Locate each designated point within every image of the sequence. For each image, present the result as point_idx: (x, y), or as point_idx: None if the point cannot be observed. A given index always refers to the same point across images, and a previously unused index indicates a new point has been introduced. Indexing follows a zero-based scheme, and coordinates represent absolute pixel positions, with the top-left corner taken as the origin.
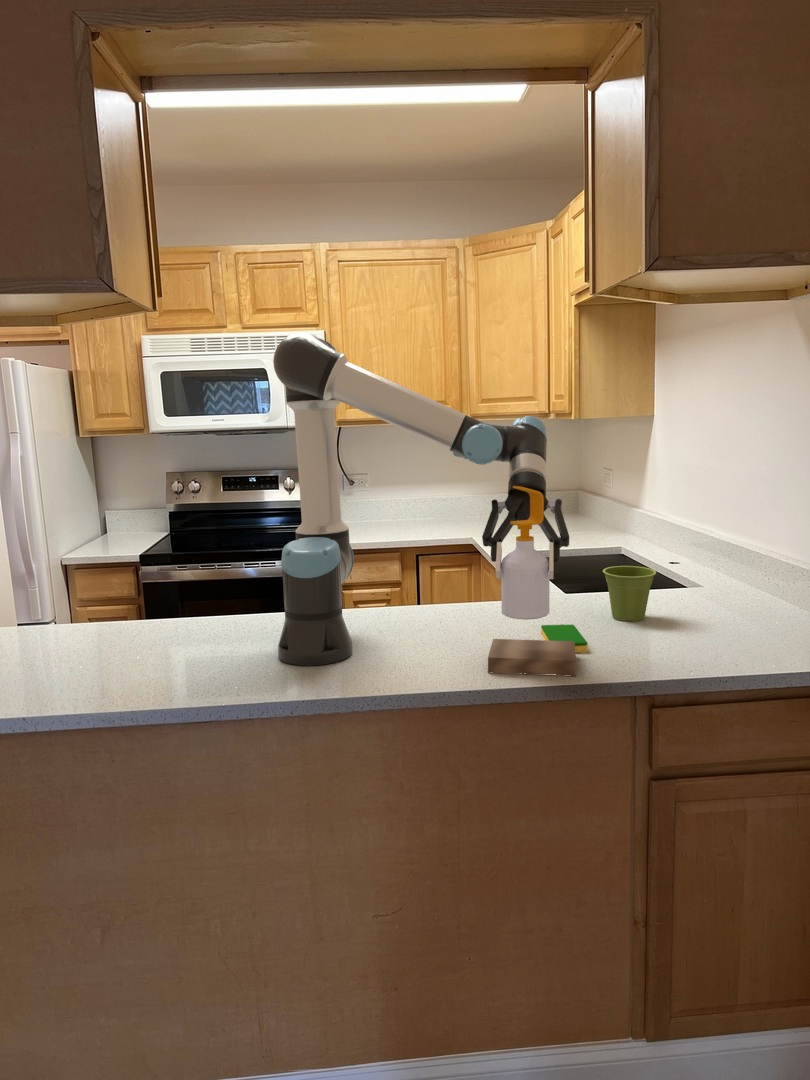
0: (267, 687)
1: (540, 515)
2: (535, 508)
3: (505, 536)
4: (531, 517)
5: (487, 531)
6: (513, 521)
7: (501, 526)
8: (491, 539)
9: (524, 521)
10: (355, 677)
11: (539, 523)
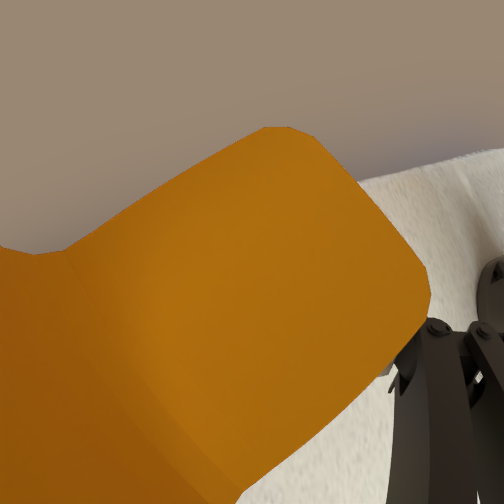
0: (485, 191)
1: (11, 277)
2: (32, 459)
3: (393, 451)
4: (186, 484)
5: (499, 358)
6: (407, 317)
7: (462, 418)
8: (449, 327)
9: (274, 325)
10: (441, 229)
11: (76, 254)
